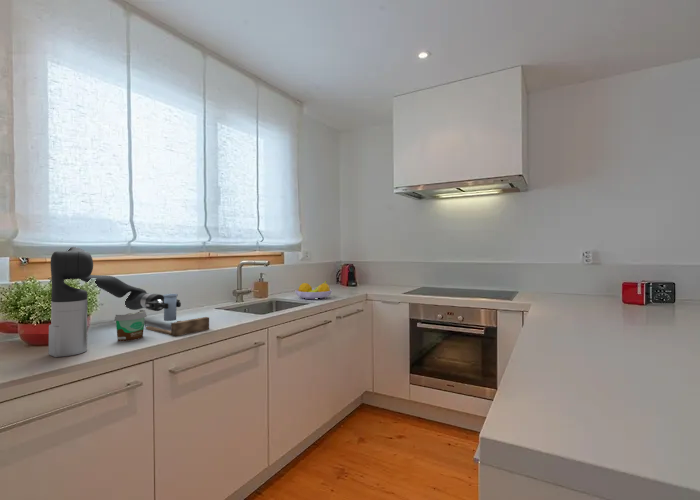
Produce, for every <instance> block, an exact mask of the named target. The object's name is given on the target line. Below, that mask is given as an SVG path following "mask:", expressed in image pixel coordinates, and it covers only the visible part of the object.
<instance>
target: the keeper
mask: <svg viewBox="0 0 700 500" xmlns="http://www.w3.org/2000/svg"><path fill="white" fill-rule="evenodd" d="M162 295H163V297H164V303H168V309H164V308H163V321H165V322H170V321H177V307H176V303H177V299H178V298H177V297H178V293H164V294H162Z"/></svg>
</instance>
